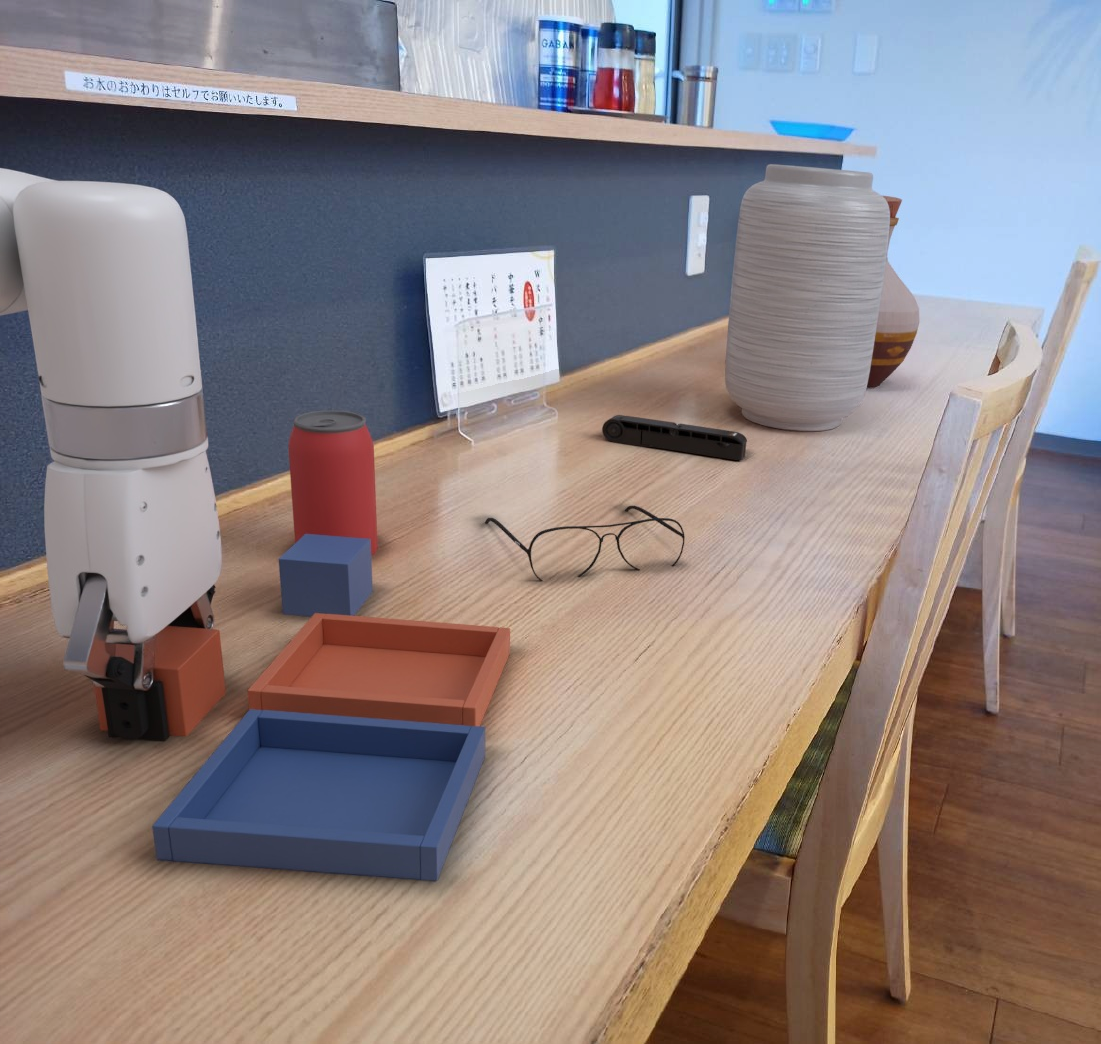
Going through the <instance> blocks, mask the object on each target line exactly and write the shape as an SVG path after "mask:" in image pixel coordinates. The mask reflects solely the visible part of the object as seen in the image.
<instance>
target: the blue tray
mask: <svg viewBox="0 0 1101 1044" xmlns="http://www.w3.org/2000/svg"><path fill="white" fill-rule="evenodd" d="M485 758H486V726H481V725H480V726H472V727H471V726H466V725H453V724H440V723H427V722H414V721H401V720H388V719H375V718H362V717H349V716H336V715H323V714H310V713H297V712H284V711H271V710H255V709H250V710H249V709H248V711H247V712H245V714H244V716H243V717H242V718H241V719H240V720H239V721H238V723H237V724H236V725H235V726H234V727H233V728H232V730H230V732H229V733H228V734H227V736H226V737H225V738H224V739H223V740H222V742H221V743H219V745H218V746H217V747H216V749H215V750H214V751H213V752H212V754H210V756H209V757H208V758H207V760H206V761H205V762H204V763H203V764H202V766H201V767H200V768H199V769H198V770H197V772H196V773H195V774H194V775H193V776H192V778H191V779H190V780H189V781H188V782H187V783H186V784H185V786H184V787H183V788H182V789H181V790H180V792H179V793H178V794H177V795H176V797H175V798H174V799H173V800H172V801H171V802H170V804H169V805H168V806H167V808H166V809H165V810H164V811H163V812H162V813H161V815H160V816H159V817H158V818H157V819H156V821H154V823H153V824H152V826H151V827H152V828H151V829H152V834H153V842H154V849H155V850H154V851H155V858H156V860H157V861H162V862H163V861H164V862H177V863H188V864H189V863H191V864H203V865H216V866H227V867H228V866H229V867H242V868H254V869H255V868H258V869H267V870H268V869H269V870H282V871H293V872H295V871H296V872H306V873H307V872H309V873H320V874H321V873H322V874H334V875H335V874H336V875H348V876H358V877H359V876H361V877H374V878H388V879H400V880H415V881H424V882H425V881H426V882H427V881H428V882H438V880H439V878H440V875H441V872H442V870H443V867H444V864H445V862H446V859H447V857H448V854H449V851H450V849H451V846H452V844H453V841H454V838H455V836H456V834H457V830H458V828H459V825H460V823H461V820H462V817H463V815H464V812H465V810H466V807H467V804H468V803H469V800H470V796H471V794H472V792H473V789H474V786H475V784H476V781H477V778H478V776H479V773H480V771H481V768H482V765H483V763H484V760H485Z"/></svg>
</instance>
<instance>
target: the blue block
mask: <svg viewBox="0 0 1101 1044" xmlns="http://www.w3.org/2000/svg"><path fill="white" fill-rule="evenodd" d="M372 562H373V561H372V555H371V539H365V538H353V537H340V536H327V535H315V534H305V535H304V536H303V537H302V538H300V539H299V540H298V541H297V542H296V543H295V542H294V544H293V545H291V547H290V548H288V550H286V551H285V552H284V553H283V554H282V555H281V556H280V557H279V558H278V570H279V582H280V597H281V607H282V615H285V616H296V617H297V616H299V617H310V618H311V617H312V616H313V615H314V614H315V613H322V614H337V615H350V616H356V614H357V613H358V612H359V610H360V609H361V608H362V607H363V605H364V604H365V603H366V601H368V598H369V597H370V596H371V595H372V593H373V592H374V589H373V588H374V586H373V585H374V584H373V563H372Z"/></svg>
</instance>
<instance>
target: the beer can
mask: <svg viewBox="0 0 1101 1044" xmlns="http://www.w3.org/2000/svg"><path fill="white" fill-rule="evenodd" d="M292 422H293V427H292V429H291V432H290V436H289V440H288V445H287V446H288V447H287V448H288V461H289V463H288V464H289V476H290V477H289V479H290V491H291V492H290V493H291V504H292V505H291V506H292V519H293V532H294V533H293V536H294V544H295V543H296V542H297V541H298V540H299V539H300V538H302V537H303V536H304V535H305V534H315V535H327V536H340V537H353V538H365V539H371V556H373V555H374V554H376V552H377V550H378V548H379V547H378V546H379V545H378V520H377V519H378V518H377V495H376V469H375V466H376V465H375V446H374V441H373V438H372V435H371V433H370V431H369V428H368V426H367V419H366V417H365V416H363V415H362V414H359V413H356V412H353V411H347V410H346V411H345V410H332V409H331V410H315V411H309V412H305V413H301V414H299V415H297V416H296V417H295V418H293V420H292Z"/></svg>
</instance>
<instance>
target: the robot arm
mask: <svg viewBox="0 0 1101 1044" xmlns="http://www.w3.org/2000/svg"><path fill="white" fill-rule="evenodd" d="M187 230H188V229H187V224H186V218H185V215H184V211H183V210H182V208H181V206H180V204H179V203H178V201H177V200H176V199H175V198H174V197H173V196H172V195H171V194H169V193H168V192H166V191H163V190H161V189H159V188H156V187H151V186H146V185H142V184H136V183H135V184H133V183H123V182H112V181H109V182H108V181H94V180H93V181H91V180H56V179H52V178H47V177H43V176H39V175H34V174H30V173H27V172H24V171H19V170H14V169H9V168H2V167H0V316H7V315H10V314H15V313H21V312H25V311H27V313H28V320H29V325H30V331H31V336H32V343H33V350H34V356H35V363H36V368H37V376H38V382H39V387H40V393H41V397H40V398H41V403H42V409H43V416H44V422H45V428H46V435H47V442H48V446H49V452H50V457H51V459H52V460H53V461H52V462H51V463H49V464H47V466H46V475H45V484H44V501H43V503H44V506H43V515H44V516H43V518H44V519H43V520H44V523H43V524H44V543H45V556H46V570H47V580H48V581H47V582H48V590H49V596H50V606H51V612H52V619H53V623H54V627H55V630H56V632H57V635H58V636H59V637H60V638H63V639H68V642H67V647H66V649H65V653H64V657H63V662H62V663H63V668H64V669H65V670H66V671H67V672H70V673H71V672H72V673H75V674H77V675H81V676H84V677H85V678H87V679H88V680H91V681H92V684H93V683H94V684H93V686H94V685H95V686H96V687H101V688H102V695H103V701H104V708H105V714H106V721H107V728H108V730H107V733H108V738H112V739H113V738H114V739H122V740H131V741H134V740H135V741H136V740H137V741H149V742H151V741H152V742H163V743H164V742H166V741H167V740H168V739H169V738H170V735H169V730H168V722H167V714H166V706H165V699H164V691H163V683H162V681H154V663H155V639H156V634H157V633H158V632H160V631H161V630H162V629H164V628H165V627H166V626H177V627H190V628H203V629H213V628H214V625H215V615H214V612H213V609H212V601H213V599H214V595H215V594H216V590H215V589H216V586H215V584H216V582H217V581H218V579H219V577H220V576H221V573H222V567H223V566H222V565H223V555H222V553H223V552H222V538H221V528H220V521H219V514H218V507H217V500H216V494H215V488H214V482H213V478H212V473H211V468H210V463H209V460H208V454H207V450H208V449H209V437H208V429H207V428H208V427H207V417H206V408H205V399H204V390H203V380H202V371H201V370H202V369H201V361H200V349H199V339H198V338H199V337H198V329H197V327H198V326H197V318H196V317H197V316H196V307H195V298H194V289H193V288H194V287H193V278H192V267H191V258H190V249H189V248H190V247H189V239H188V238H189V237H188V231H187ZM115 622H118V624H119V625H120V626H125V629H124V628H115ZM116 644H127V645H134V664H133V663H131V662H130V661H128V660H126V659H125V658H123V657H115V651H116Z"/></svg>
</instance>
